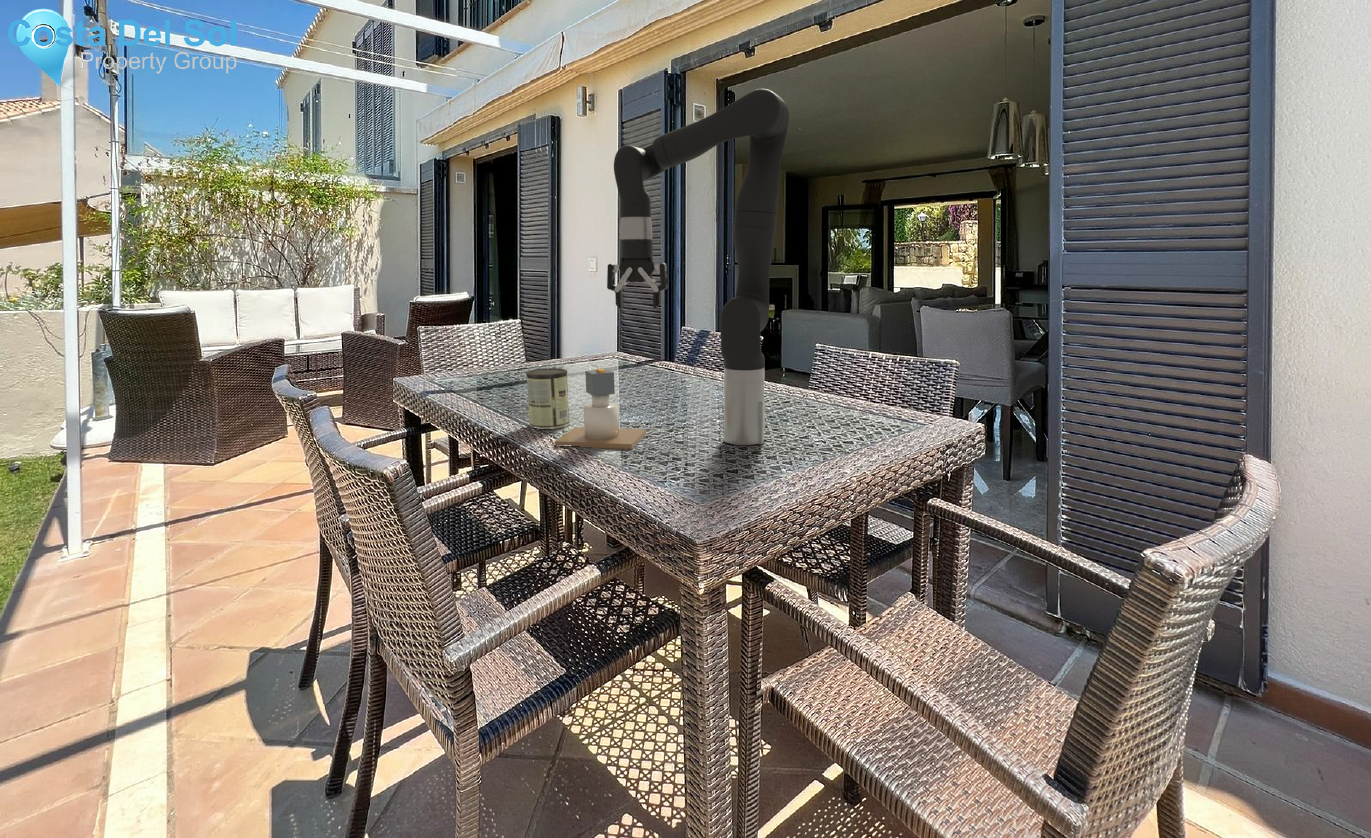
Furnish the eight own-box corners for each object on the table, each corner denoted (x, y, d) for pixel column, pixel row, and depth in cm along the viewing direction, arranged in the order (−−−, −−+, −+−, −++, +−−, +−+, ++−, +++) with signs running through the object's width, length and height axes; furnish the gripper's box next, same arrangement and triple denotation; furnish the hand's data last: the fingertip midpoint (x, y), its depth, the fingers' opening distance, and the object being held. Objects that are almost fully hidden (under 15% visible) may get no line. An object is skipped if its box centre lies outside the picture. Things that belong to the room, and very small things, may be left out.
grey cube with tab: (586, 392, 165) (585, 368, 164) (607, 390, 167) (606, 366, 166) (592, 395, 161) (592, 371, 159) (614, 393, 163) (613, 369, 162)
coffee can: (536, 420, 188) (533, 368, 185) (574, 421, 187) (571, 368, 184) (523, 429, 178) (520, 374, 175) (563, 430, 177) (561, 374, 174)
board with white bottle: (646, 434, 172) (645, 389, 169) (631, 449, 158) (630, 401, 156) (575, 431, 175) (573, 388, 172) (555, 446, 161) (552, 399, 159)
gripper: (669, 237, 167) (670, 307, 171) (611, 238, 170) (613, 307, 173) (662, 237, 160) (664, 309, 163) (602, 238, 162) (604, 309, 166)
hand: (638, 308), depth 168 cm, fingers open, 8 cm apart
